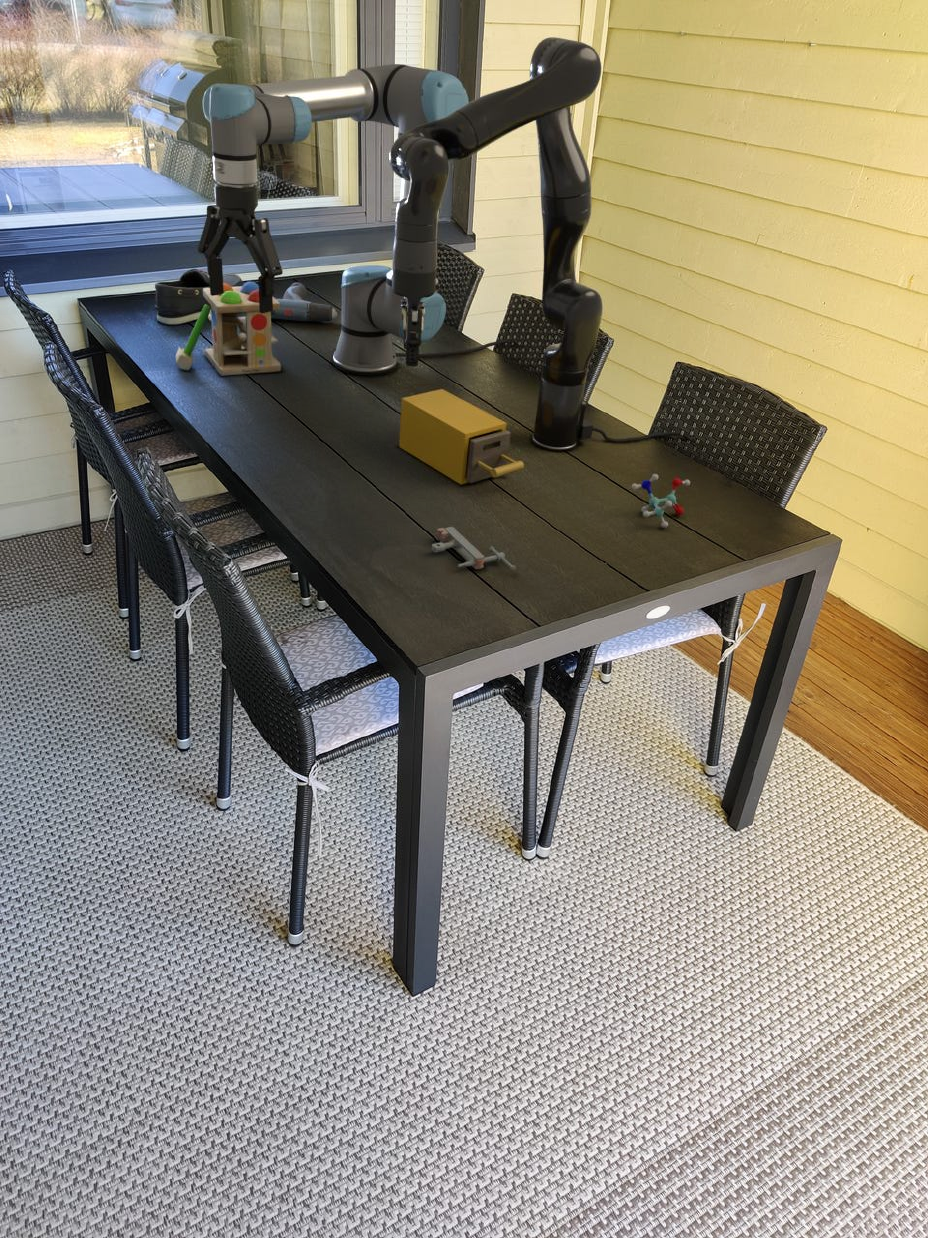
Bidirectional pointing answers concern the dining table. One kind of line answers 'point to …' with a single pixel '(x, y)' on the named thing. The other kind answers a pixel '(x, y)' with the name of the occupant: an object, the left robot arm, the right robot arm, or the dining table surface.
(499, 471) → the drawer
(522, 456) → the dining table surface
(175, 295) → the boat shoe
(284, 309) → the power drill
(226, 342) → the pounding bench toy
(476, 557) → the clamp
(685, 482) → the molecular model
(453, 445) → the cabinet
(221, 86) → the left robot arm
